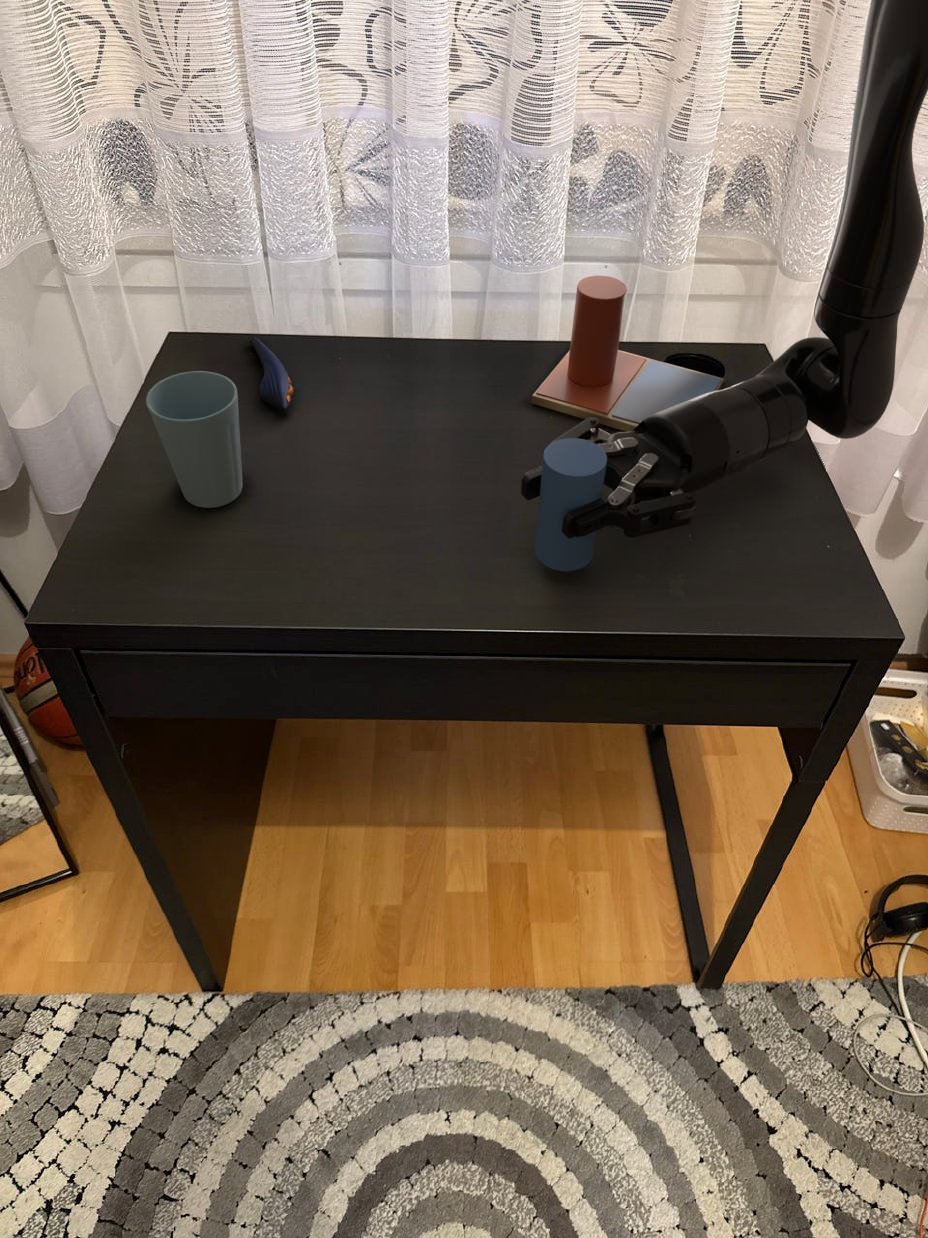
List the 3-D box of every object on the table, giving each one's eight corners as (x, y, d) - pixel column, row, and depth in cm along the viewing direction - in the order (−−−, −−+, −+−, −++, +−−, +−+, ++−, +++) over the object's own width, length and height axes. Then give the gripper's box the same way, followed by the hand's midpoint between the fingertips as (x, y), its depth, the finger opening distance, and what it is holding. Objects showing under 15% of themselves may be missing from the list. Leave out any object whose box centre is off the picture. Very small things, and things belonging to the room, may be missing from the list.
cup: (237, 455, 91) (218, 361, 84) (267, 499, 87) (250, 404, 79) (161, 479, 89) (134, 384, 81) (188, 526, 84) (163, 430, 76)
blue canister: (601, 543, 81) (616, 448, 74) (579, 578, 78) (593, 483, 70) (548, 526, 82) (558, 431, 75) (525, 559, 79) (533, 464, 72)
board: (722, 386, 101) (724, 377, 101) (685, 449, 93) (687, 440, 93) (577, 346, 106) (578, 337, 106) (531, 403, 98) (532, 394, 98)
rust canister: (620, 369, 101) (634, 282, 94) (603, 391, 98) (616, 303, 91) (577, 357, 103) (588, 270, 95) (560, 379, 100) (569, 291, 92)
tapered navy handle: (244, 355, 106) (236, 336, 104) (273, 344, 106) (265, 325, 104) (272, 424, 95) (264, 404, 93) (304, 411, 95) (296, 391, 94)
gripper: (653, 365, 83) (495, 424, 76) (772, 447, 74) (606, 521, 68) (641, 436, 88) (492, 496, 81) (750, 519, 80) (594, 594, 73)
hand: (545, 507), depth 75 cm, fingers closed on blue canister, 5 cm apart
